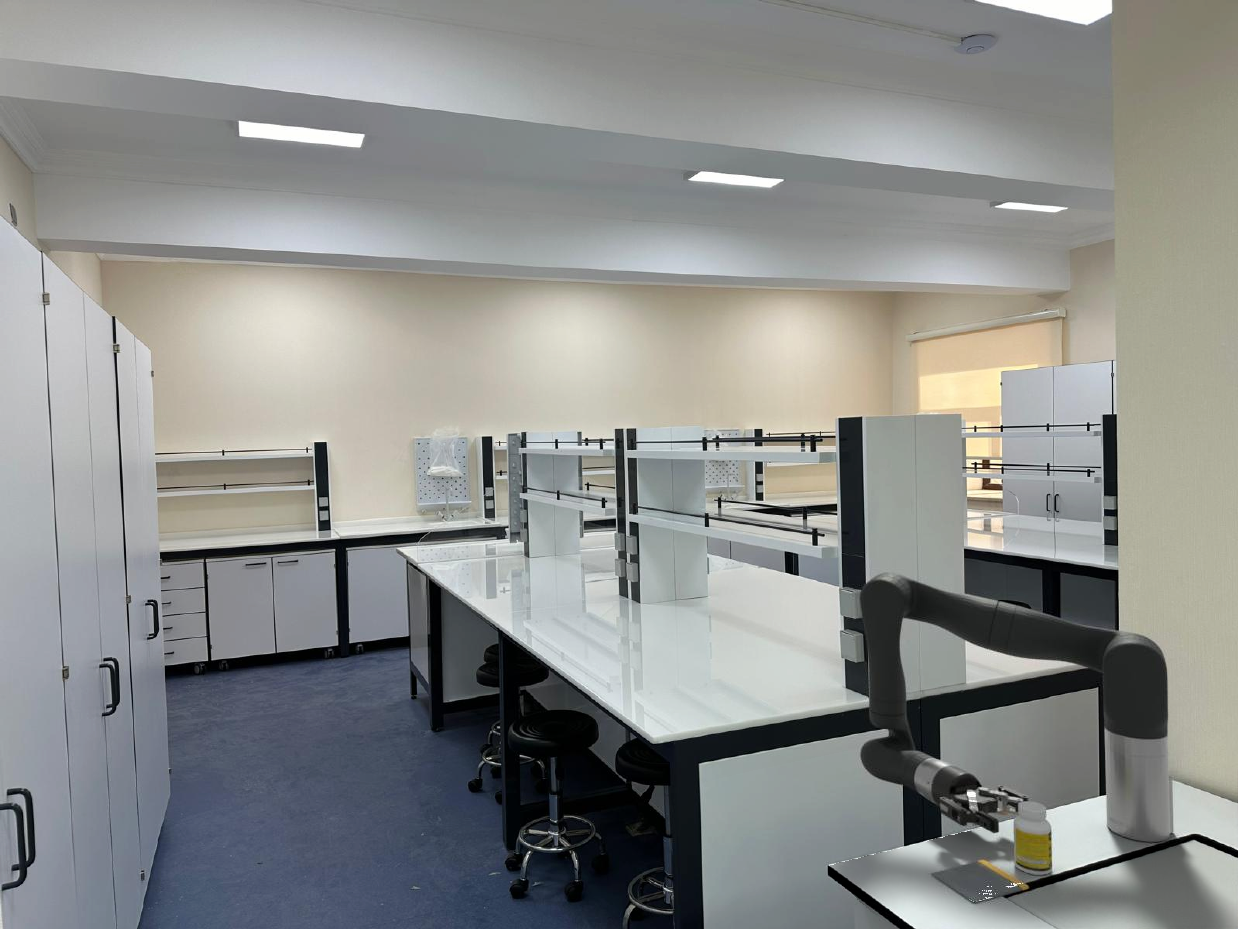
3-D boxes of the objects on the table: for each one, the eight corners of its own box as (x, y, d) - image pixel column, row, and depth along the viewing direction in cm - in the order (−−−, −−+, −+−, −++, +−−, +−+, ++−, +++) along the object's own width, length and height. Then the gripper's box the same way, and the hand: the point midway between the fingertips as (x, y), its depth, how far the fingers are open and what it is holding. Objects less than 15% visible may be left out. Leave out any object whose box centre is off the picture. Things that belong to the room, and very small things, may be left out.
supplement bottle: (1057, 877, 129) (1055, 814, 129) (1019, 875, 130) (1017, 812, 130) (1046, 860, 134) (1045, 800, 134) (1010, 858, 135) (1008, 798, 135)
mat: (983, 861, 134) (983, 859, 134) (1028, 888, 126) (1028, 886, 126) (931, 875, 131) (931, 872, 131) (974, 903, 122) (974, 900, 122)
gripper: (913, 771, 147) (982, 807, 132) (977, 759, 152) (1051, 791, 137) (914, 813, 148) (983, 854, 132) (979, 799, 152) (1052, 837, 137)
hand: (1018, 822), depth 135 cm, fingers open, 8 cm apart
